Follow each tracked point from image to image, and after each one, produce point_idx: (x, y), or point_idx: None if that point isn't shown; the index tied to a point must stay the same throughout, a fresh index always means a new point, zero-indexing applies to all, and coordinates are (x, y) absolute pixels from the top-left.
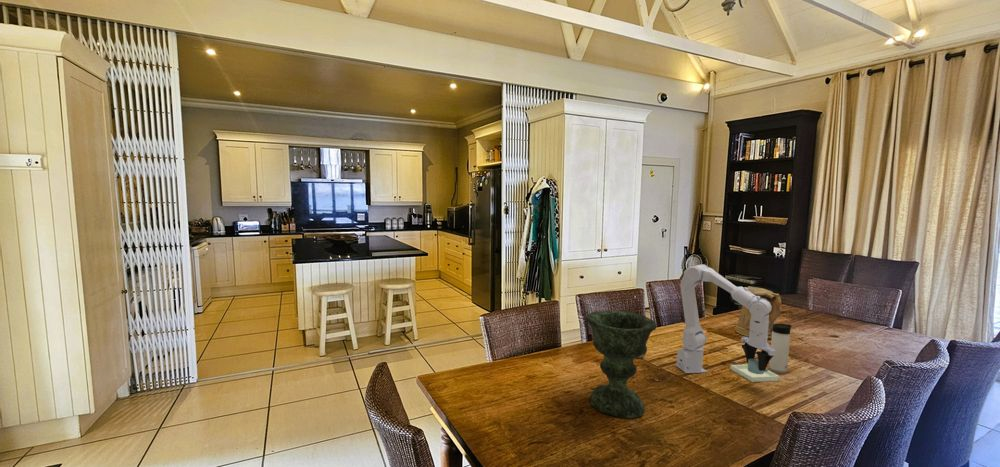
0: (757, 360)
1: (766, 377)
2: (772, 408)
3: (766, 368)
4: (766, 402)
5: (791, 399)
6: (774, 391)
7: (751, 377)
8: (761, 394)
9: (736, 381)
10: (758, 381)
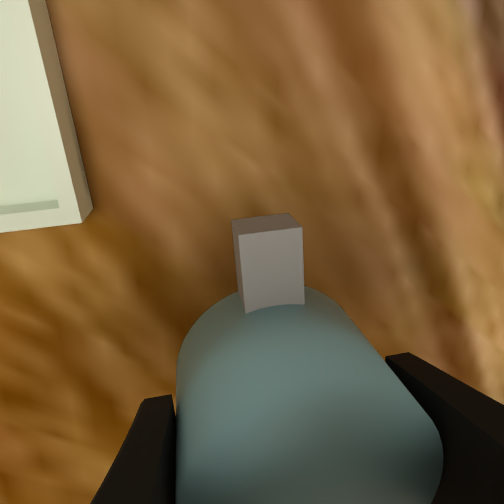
0: (292, 470)
1: (35, 19)
2: (499, 315)
3: (296, 247)
4: (432, 306)
5: (431, 71)
6: (282, 115)
7: (71, 223)
8: (325, 268)
9: (88, 335)
10: (73, 133)
